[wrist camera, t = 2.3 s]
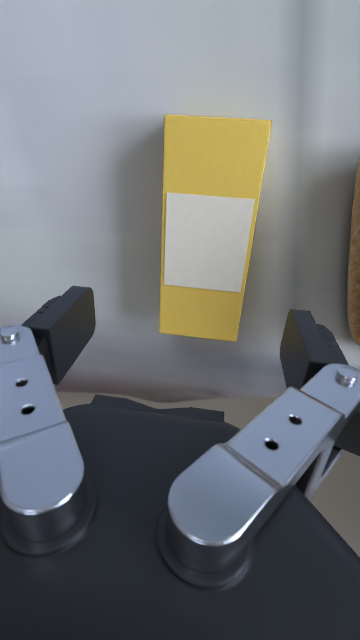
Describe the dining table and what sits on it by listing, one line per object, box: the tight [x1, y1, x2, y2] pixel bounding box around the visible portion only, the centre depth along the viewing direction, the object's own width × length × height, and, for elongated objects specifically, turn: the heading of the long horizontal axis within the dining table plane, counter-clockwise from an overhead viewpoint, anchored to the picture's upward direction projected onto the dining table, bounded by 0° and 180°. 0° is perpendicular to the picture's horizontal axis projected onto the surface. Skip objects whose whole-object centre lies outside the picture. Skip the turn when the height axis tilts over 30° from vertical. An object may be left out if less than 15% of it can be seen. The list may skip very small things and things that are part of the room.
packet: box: [159, 114, 272, 342], centre depth 24 cm, size 15×6×4 cm, turn 177°
